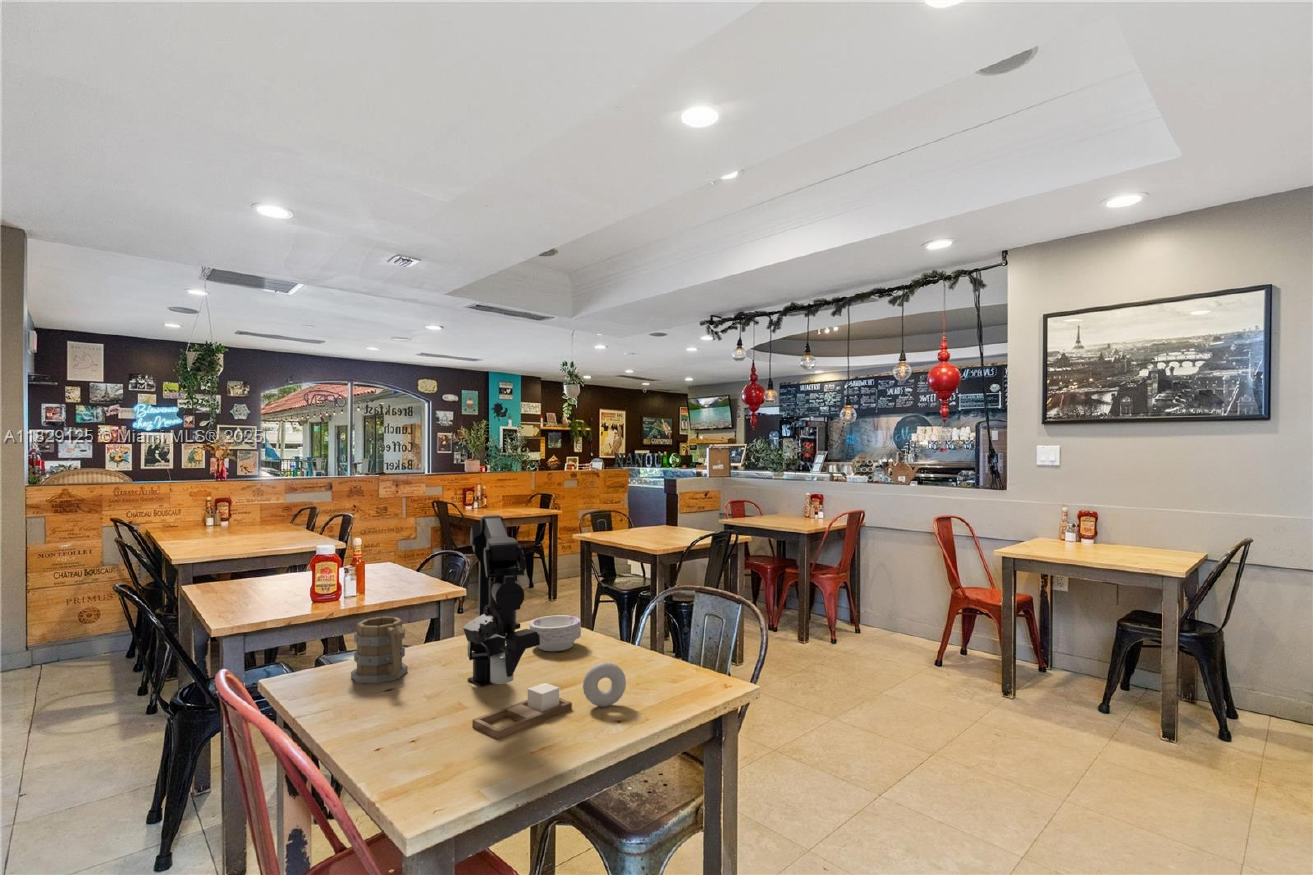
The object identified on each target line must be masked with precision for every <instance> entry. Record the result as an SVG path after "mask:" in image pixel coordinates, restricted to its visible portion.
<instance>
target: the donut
mask: <svg viewBox="0 0 1313 875" xmlns="http://www.w3.org/2000/svg"><path fill="white" fill-rule="evenodd" d="M604 678H607V679H609V680H610V682H611V685H610V687H609V688H608V689H606V690H600V689H599V685H598V684H599V682H600V680H602V679H604ZM626 686H627V681H626V675H625V673H624V671H623V669H622V668H620V667H619V666H618V664H615V663H612V662H608V661H607V662H605V661H604V662H600V663H599V662H598V663H597V664H595V665H593V666H592V667H591V668H590V669H589V670H588V671H587V672H586V674H585V676H584V678H583V683H582V689H583V694H584V695H585V698H586V699H587V701H589V702H590V703H591V704H592V705H593V706H597V707H602V708H603V707H609V706H613V705H614V704H615V703H617V702H618V701H619V700H620V699H621V698H622V696H624V693H625V691H626Z"/></svg>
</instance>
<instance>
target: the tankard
mask: <svg viewBox="0 0 1313 875" xmlns="http://www.w3.org/2000/svg"><path fill="white" fill-rule="evenodd" d="M405 637H406V630H405V628H404V627H403V619H402V618H399V617H397V616H378V617H377V616H376V617H372V618H366V619H363V620H361V621H359V622H358V623H357V624H356V632H354V637H353V639H354V641H353V642H354V643H355V644H356V651H354V652H353V654H354V655H353V656H354V657H353V661H354V662H355V663H356V668H355V669H353V670H352V671H350V678H351V679H352V680H354V681H355V682H356V683H357V684H374V685H377V684H382V683H387V682H390V681H391V682H392V681H395V680H398V679H400V678H401V677H403V675H405V674H406V673H408V671H409V670H408V669H409V668H408V667H409V666H408V665H407V664H405V663H403V658H404V657H405V655H406V652H405V651H406V650H405V647H404V646H403V639H405Z"/></svg>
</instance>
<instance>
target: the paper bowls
mask: <svg viewBox="0 0 1313 875" xmlns="http://www.w3.org/2000/svg"><path fill="white" fill-rule="evenodd" d="M528 629H529V630H533V631H536V632H538V633H539V634H540V645H538V646H537V648H538V649H539V650H541V651H545V652H562V651H567V650H569V649H571V648H572V647H573V646H574V643H575V641H576V640H577V639H580V638H581V637H582V636H581V635H582V620H581V618H579V617H577V616H575V615H574V616H573V615H567V614H563V615H562V614H560V615H559V614H558V615H547V616H541V617H538V618H535V619H533V620H531V621H530V622H529V628H528Z"/></svg>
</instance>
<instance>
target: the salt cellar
mask: <svg viewBox="0 0 1313 875" xmlns="http://www.w3.org/2000/svg"><path fill="white" fill-rule="evenodd" d="M514 673H515V672H514ZM514 673H513V675H512V676H511V677H507V673H506V661H505V653H497V654H494V655H492V656H491V657H490V681H491V682H492V683H491V684H496V685H503V684H504V685H505V684H508V683H511V682H513V681H514V676H515V675H514Z"/></svg>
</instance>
